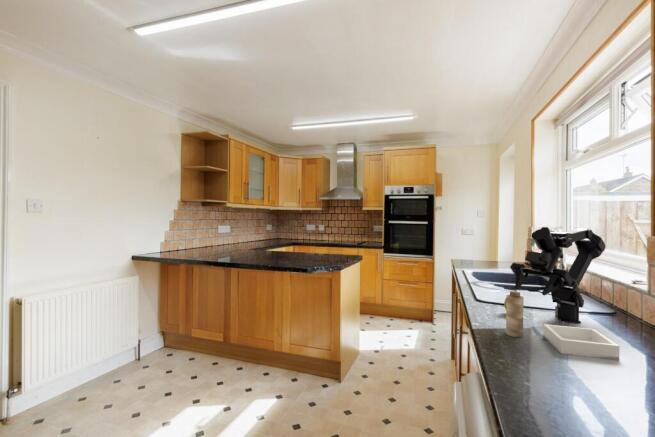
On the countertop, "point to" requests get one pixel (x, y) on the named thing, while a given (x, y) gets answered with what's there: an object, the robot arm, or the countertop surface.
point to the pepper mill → (514, 314)
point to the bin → (581, 342)
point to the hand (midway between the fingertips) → (529, 291)
